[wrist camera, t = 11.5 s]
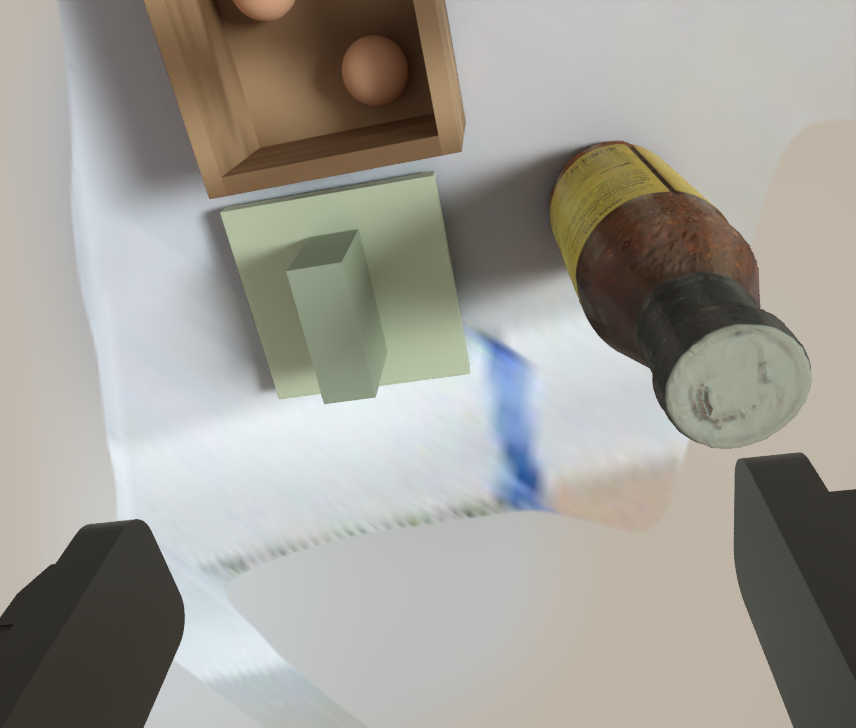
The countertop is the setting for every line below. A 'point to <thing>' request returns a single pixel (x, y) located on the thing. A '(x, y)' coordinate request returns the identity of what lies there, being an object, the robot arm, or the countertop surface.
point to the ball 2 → (375, 70)
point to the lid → (351, 287)
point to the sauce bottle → (676, 295)
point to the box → (304, 89)
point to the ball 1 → (264, 8)
